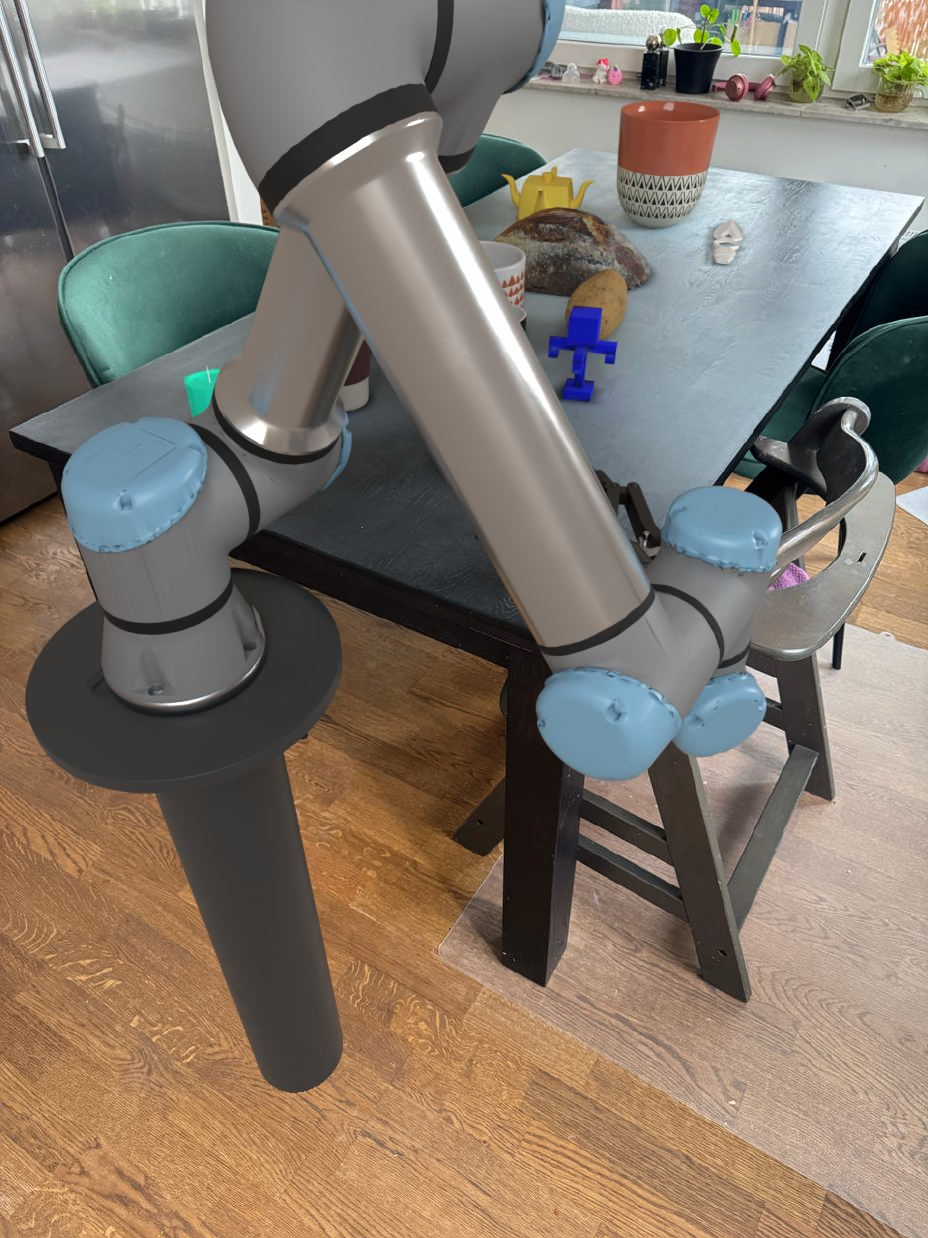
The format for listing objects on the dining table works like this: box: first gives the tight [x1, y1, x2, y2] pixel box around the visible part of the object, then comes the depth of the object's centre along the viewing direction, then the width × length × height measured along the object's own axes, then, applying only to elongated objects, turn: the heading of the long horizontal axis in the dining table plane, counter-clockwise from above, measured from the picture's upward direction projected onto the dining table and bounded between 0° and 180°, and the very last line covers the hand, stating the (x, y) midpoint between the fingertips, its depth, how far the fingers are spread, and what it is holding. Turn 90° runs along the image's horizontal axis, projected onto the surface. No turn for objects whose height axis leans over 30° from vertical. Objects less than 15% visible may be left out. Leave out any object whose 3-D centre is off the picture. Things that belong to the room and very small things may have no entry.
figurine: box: [547, 305, 618, 403], centre depth 120 cm, size 8×8×12 cm
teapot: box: [501, 166, 596, 221], centre depth 182 cm, size 15×14×10 cm
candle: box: [183, 366, 221, 418], centre depth 107 cm, size 6×6×12 cm
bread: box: [492, 207, 652, 297], centre depth 160 cm, size 27×32×10 cm
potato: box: [564, 269, 628, 341], centre depth 137 cm, size 9×16×9 cm, turn 151°
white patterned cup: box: [479, 240, 526, 309], centre depth 136 cm, size 14×14×13 cm
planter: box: [616, 100, 722, 229], centre depth 177 cm, size 20×20×21 cm
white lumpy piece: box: [712, 219, 744, 265], centre depth 175 cm, size 6×28×1 cm, turn 163°
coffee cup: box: [340, 338, 371, 413], centre depth 118 cm, size 10×10×15 cm
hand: (527, 470), depth 89 cm, fingers open, 10 cm apart
